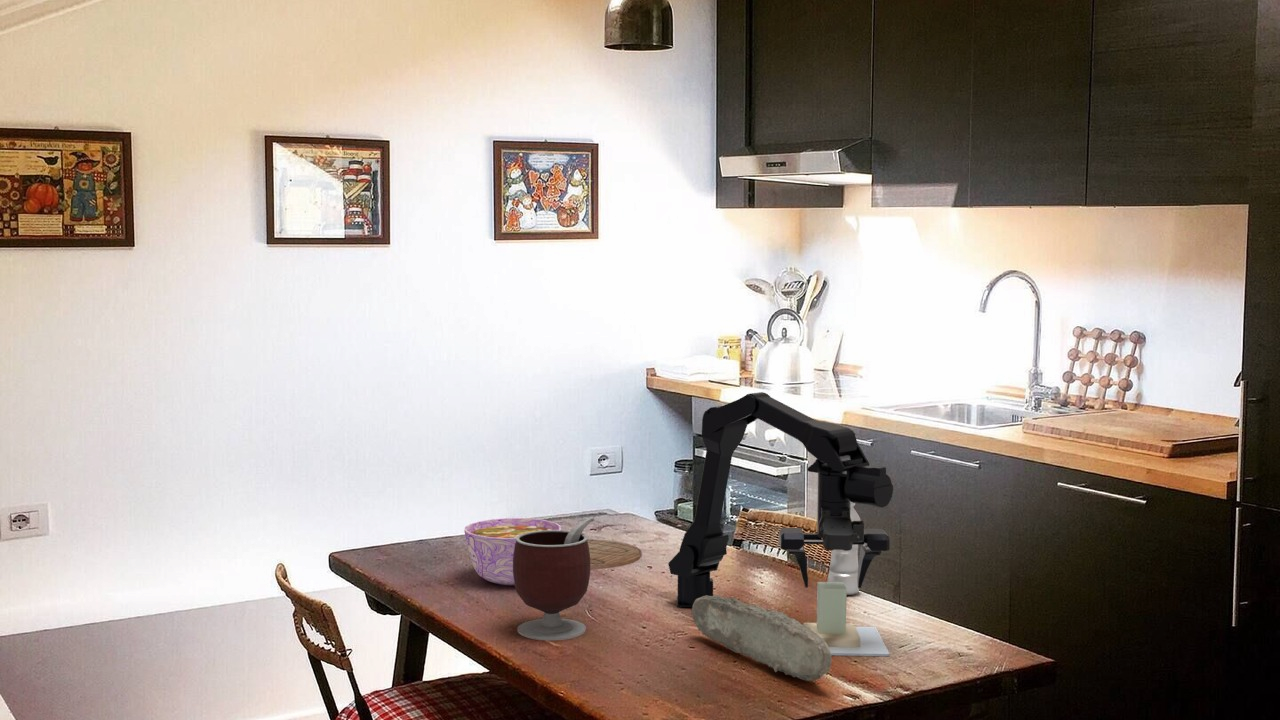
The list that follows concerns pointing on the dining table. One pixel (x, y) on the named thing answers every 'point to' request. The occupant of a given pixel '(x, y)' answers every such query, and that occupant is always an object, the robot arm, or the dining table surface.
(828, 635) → the foundation slab
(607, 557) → the trivet
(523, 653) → the dining table surface
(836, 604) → the block
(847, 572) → the plastic bottle
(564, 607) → the mate gourd
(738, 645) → the long grey stone
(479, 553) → the bowl of food
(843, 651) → the board
